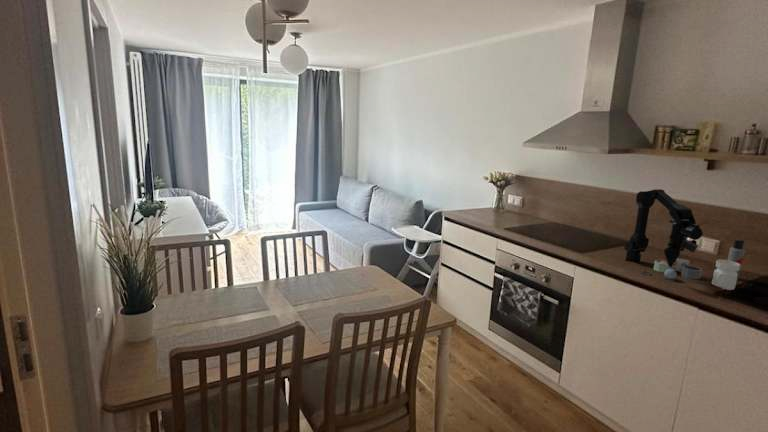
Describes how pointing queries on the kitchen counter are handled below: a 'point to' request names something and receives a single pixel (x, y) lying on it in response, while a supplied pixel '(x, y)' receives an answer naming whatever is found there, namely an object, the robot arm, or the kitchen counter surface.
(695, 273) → the tube right
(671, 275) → the ball slate
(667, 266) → the tube left
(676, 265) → the dot card
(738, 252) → the lotion bottle
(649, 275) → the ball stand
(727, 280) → the vase
